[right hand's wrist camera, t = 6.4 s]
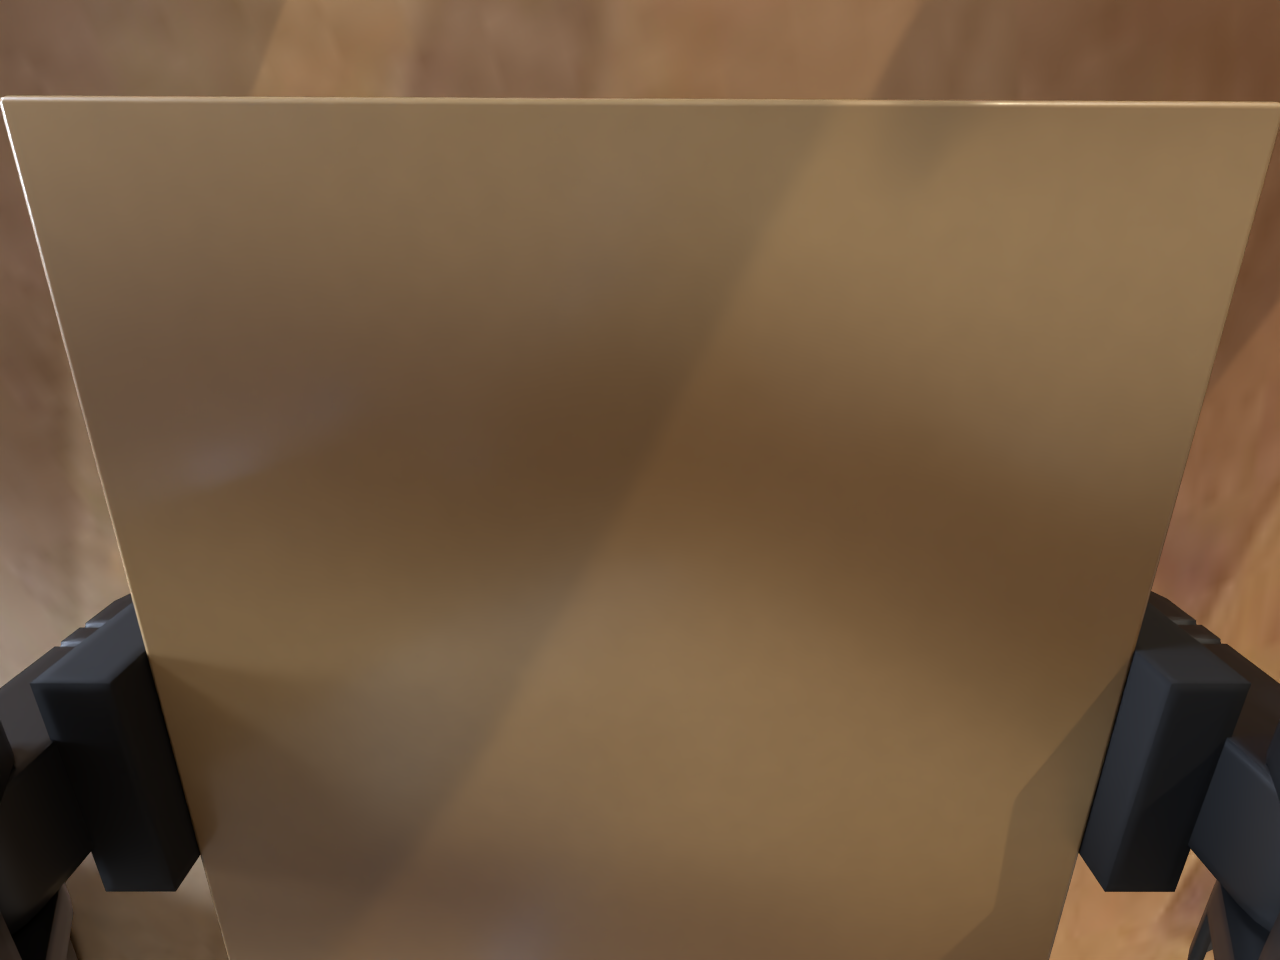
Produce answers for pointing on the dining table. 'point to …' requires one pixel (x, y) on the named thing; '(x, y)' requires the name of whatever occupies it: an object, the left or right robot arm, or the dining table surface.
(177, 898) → the dining table surface
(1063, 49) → the dining table surface
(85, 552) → the dining table surface
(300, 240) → the slab
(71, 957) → the left robot arm
